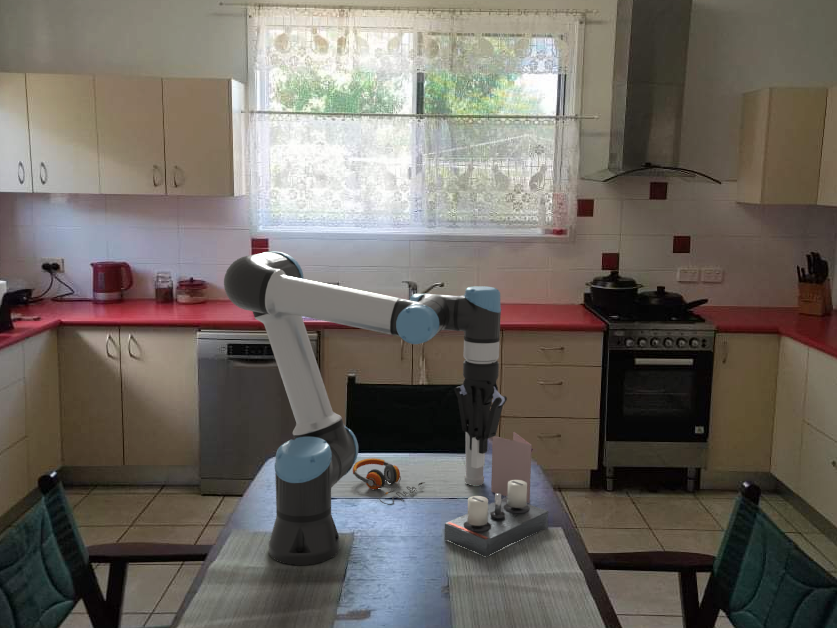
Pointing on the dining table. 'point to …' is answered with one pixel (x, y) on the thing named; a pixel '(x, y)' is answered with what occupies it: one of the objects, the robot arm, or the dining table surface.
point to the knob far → (517, 493)
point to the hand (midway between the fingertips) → (477, 466)
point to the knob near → (477, 510)
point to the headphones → (380, 475)
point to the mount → (497, 528)
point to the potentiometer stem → (497, 509)
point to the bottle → (472, 474)
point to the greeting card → (510, 463)
